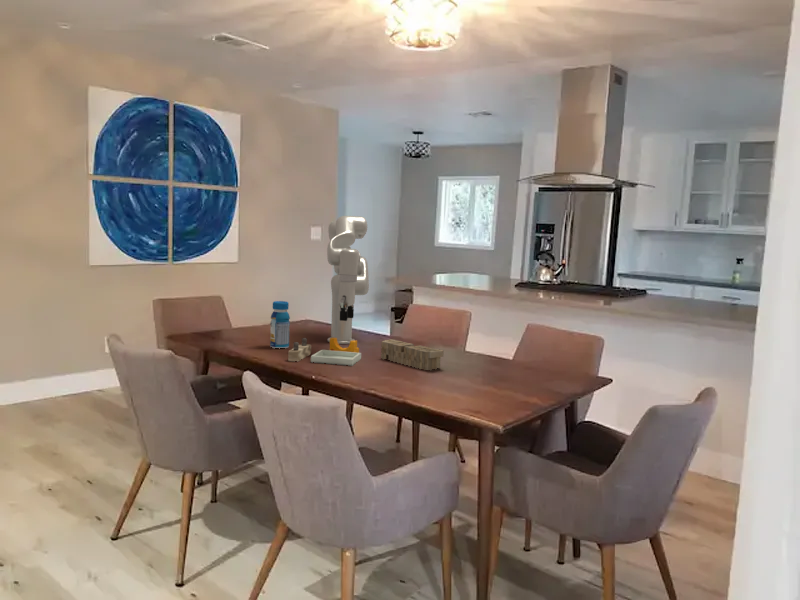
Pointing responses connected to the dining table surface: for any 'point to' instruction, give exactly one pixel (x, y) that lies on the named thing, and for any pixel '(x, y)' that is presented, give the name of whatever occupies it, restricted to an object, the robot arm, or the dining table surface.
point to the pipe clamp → (336, 347)
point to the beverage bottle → (280, 325)
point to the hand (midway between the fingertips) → (346, 319)
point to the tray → (336, 357)
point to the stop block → (299, 351)
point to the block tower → (411, 354)
